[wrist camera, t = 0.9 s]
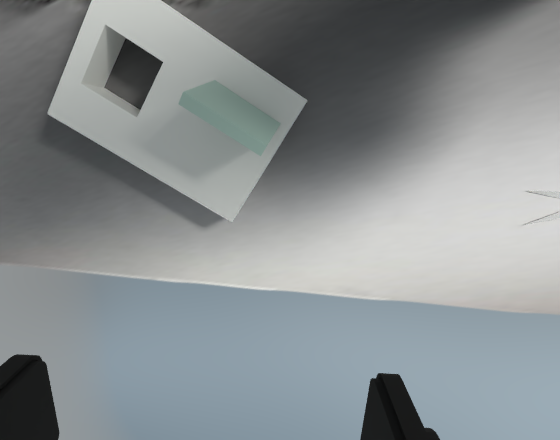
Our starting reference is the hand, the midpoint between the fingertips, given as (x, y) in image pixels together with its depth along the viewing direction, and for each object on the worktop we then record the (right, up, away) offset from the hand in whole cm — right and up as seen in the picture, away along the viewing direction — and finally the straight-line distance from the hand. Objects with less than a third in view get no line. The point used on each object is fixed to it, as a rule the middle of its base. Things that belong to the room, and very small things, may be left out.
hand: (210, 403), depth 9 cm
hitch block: (-8, +17, +24) cm, 31 cm away
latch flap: (-2, +14, +18) cm, 22 cm away
